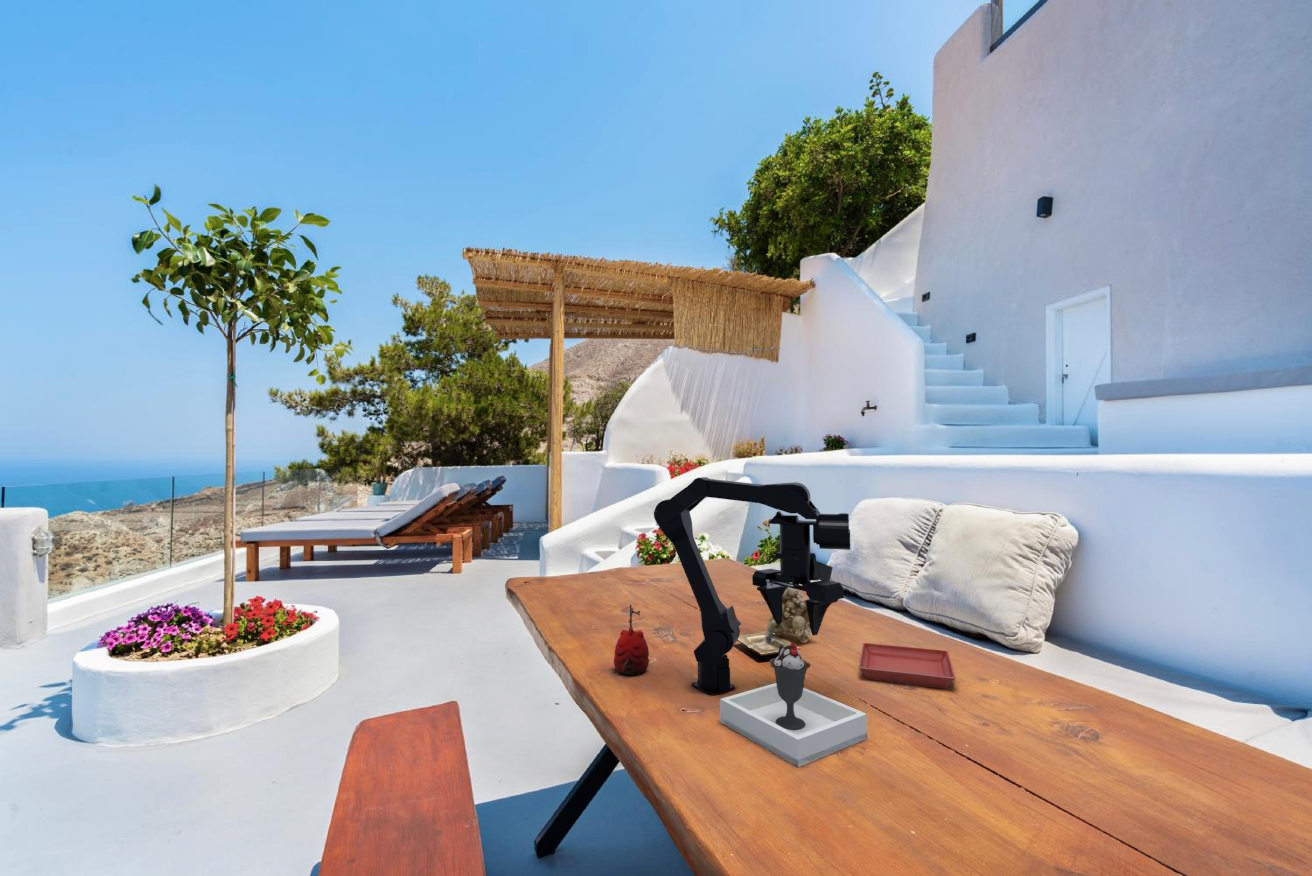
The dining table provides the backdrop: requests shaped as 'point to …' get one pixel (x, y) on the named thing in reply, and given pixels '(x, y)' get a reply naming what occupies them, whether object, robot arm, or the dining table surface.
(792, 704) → the sundae
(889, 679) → the plant saucer
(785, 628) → the mineral formation
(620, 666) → the red fruit with stem
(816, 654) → the dining table surface
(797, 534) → the robot arm
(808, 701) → the tray
